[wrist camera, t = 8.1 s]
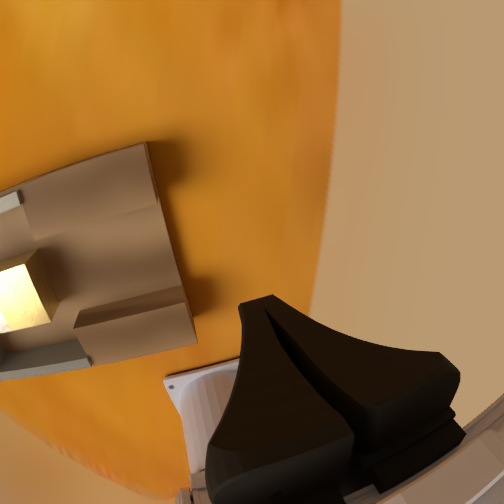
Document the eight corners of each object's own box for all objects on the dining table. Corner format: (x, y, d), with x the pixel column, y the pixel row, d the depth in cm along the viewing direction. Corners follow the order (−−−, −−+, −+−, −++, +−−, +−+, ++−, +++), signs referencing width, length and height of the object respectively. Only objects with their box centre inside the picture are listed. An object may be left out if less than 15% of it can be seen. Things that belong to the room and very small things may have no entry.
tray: (96, 344, 20) (91, 367, 18) (4, 361, 18) (-5, 381, 16) (33, 182, 15) (16, 191, 13) (-61, 226, 13) (-79, 238, 11)
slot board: (193, 318, 22) (197, 343, 19) (8, 357, 19) (-3, 381, 17) (147, 141, 17) (143, 143, 14) (-56, 220, 14) (-78, 233, 11)
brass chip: (60, 301, 18) (50, 322, 16) (23, 311, 18) (11, 331, 15) (38, 248, 17) (24, 264, 14) (0, 260, 16) (-16, 277, 14)
